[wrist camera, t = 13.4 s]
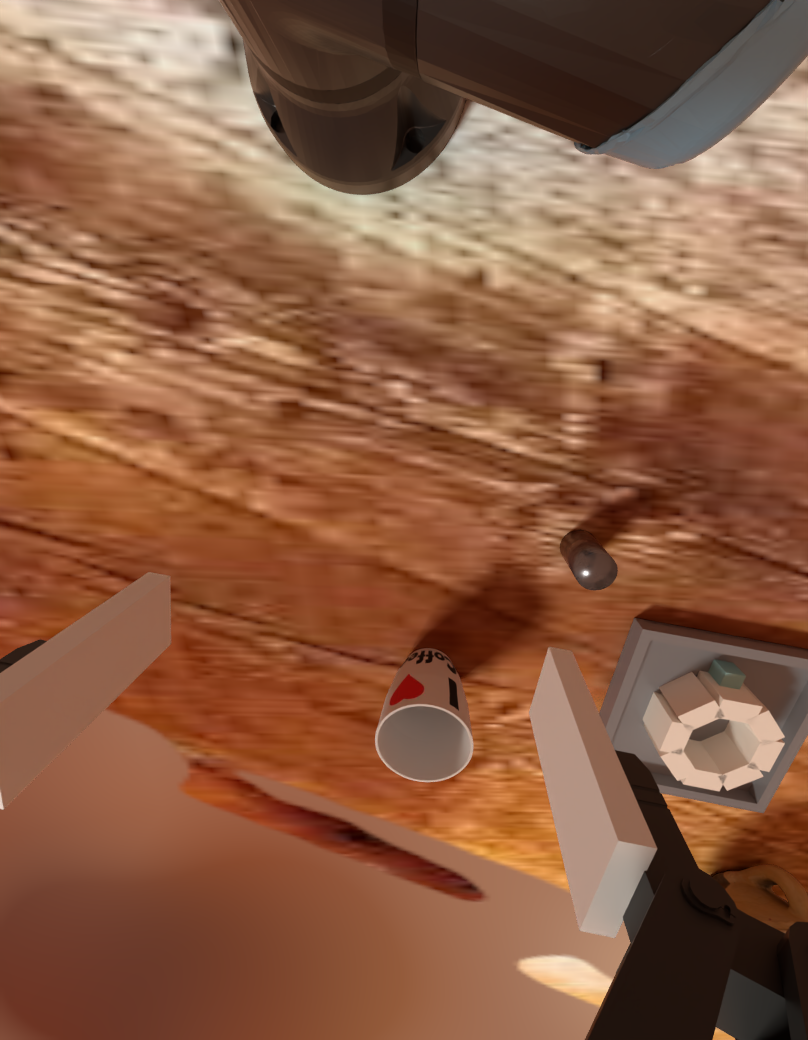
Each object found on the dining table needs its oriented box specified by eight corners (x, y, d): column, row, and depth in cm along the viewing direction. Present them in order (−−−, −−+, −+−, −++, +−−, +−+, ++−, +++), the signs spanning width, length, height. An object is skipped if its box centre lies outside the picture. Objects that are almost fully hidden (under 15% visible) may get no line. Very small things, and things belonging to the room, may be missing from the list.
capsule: (565, 527, 41) (582, 550, 36) (600, 533, 41) (622, 557, 36) (555, 559, 42) (570, 586, 37) (590, 565, 42) (610, 593, 37)
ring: (632, 744, 47) (648, 777, 43) (670, 651, 43) (691, 677, 40) (730, 763, 47) (754, 798, 43) (777, 670, 43) (808, 699, 39)
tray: (634, 617, 43) (642, 629, 41) (828, 653, 43) (846, 666, 41) (581, 762, 49) (586, 778, 47) (751, 795, 48) (763, 813, 47)
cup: (473, 640, 46) (479, 711, 36) (463, 706, 48) (466, 788, 39) (392, 630, 46) (378, 697, 37) (387, 696, 49) (372, 775, 39)
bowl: (695, 813, 50) (749, 911, 41) (849, 864, 50) (937, 973, 41) (620, 912, 56) (653, 1017, 47) (758, 958, 56) (818, 1071, 47)
